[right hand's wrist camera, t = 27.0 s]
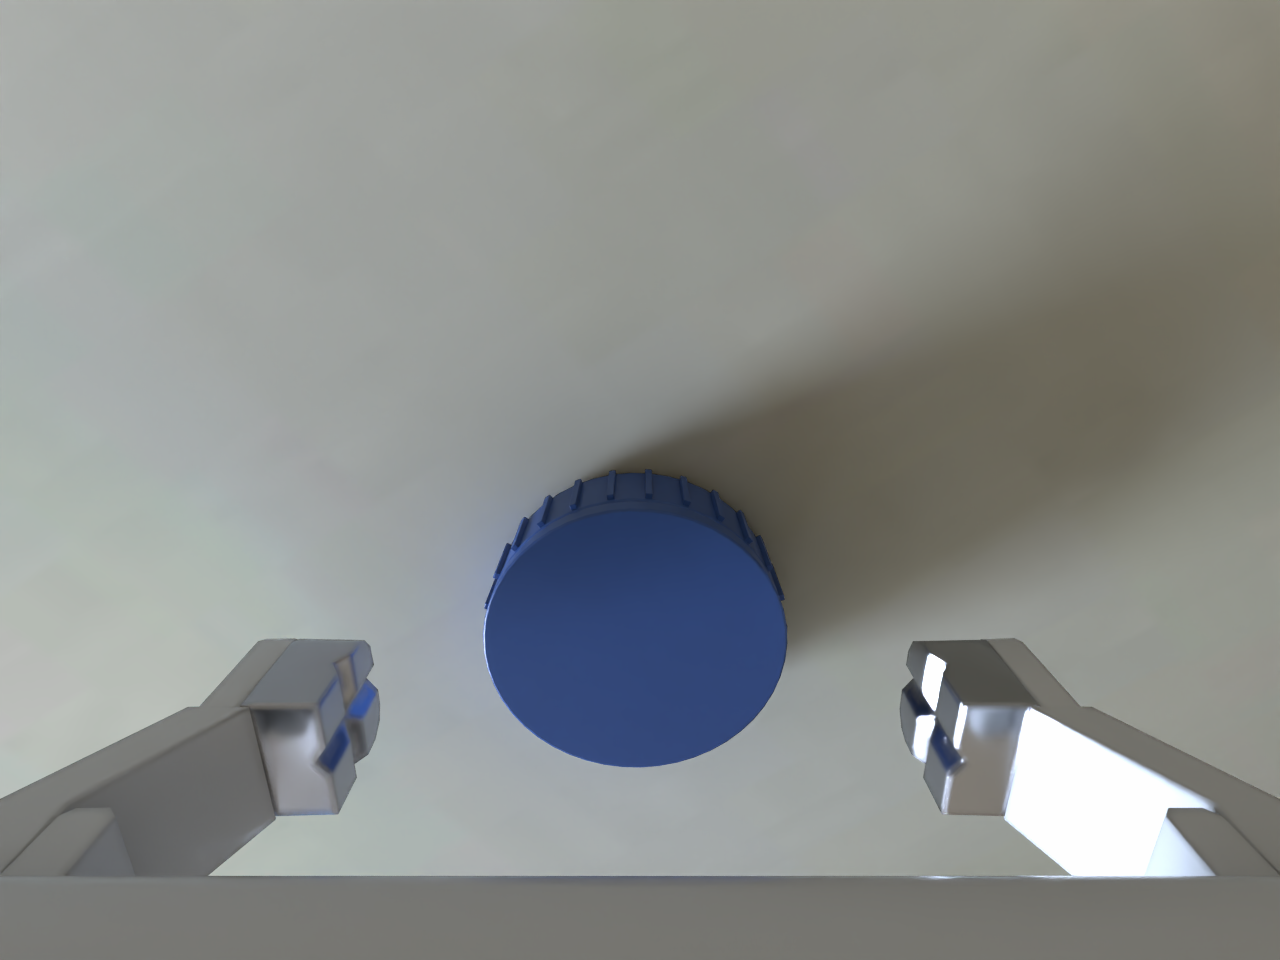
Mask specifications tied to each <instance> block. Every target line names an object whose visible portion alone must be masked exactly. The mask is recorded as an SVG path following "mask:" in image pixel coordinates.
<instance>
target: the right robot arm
mask: <svg viewBox="0 0 1280 960" xmlns="http://www.w3.org/2000/svg"><path fill="white" fill-rule="evenodd" d="M373 665H374V663H373V658H372V653H371V648H370V645H369V644H368V643H367V642H366V641H365V640H331V639H265V640H261V641H258V642H257V643H256V644H255V645H254V646H253V648H252V649H251V650H250V651H249V652H248V653H247V654H246V655H245V656H244V658H243V659H242V660H241V661H240V662H239V663H238V664H237V665H236V666H235V668H234V669H233V670H232V671H231V672H230V673H229V674H228V675H227V676H226V678H225V679H224V680H223V681H222V682H221V683H220V684H219V685H218V686H217V688H216V689H215V690H214V691H213V692H212V693H211V694H210V695H209V696H208V698H207V699H206V700H205V701H204V702H203V703H202V704H201V705H200V706H199V707H187V708H185V709H183V710H181V711H179V712H177V713H175V714H173V715H171V716H169V717H167V718H164V719H162V720H160V721H158V722H156V723H154V724H152V725H150V726H148V727H146V728H144V729H142V730H140V731H138V732H136V733H134V734H132V735H130V736H128V737H126V738H124V739H122V740H120V741H118V742H116V743H113V744H111V745H109V746H107V747H105V748H103V749H101V750H99V751H97V752H95V753H93V754H91V755H89V756H87V757H85V758H83V759H81V760H79V761H77V762H75V763H73V764H71V765H69V766H67V767H65V768H62V769H60V770H58V771H56V772H54V773H52V774H50V775H48V776H46V777H44V778H42V779H40V780H38V781H36V782H34V783H32V784H30V785H28V786H26V787H24V788H22V789H20V790H18V791H16V792H14V793H11V794H9V795H7V796H5V797H3V798H1V799H0V960H1280V799H1278V798H1276V797H1274V796H1272V795H1270V794H1268V793H1266V792H1264V791H1262V790H1260V789H1258V788H1256V787H1254V786H1252V785H1250V784H1248V783H1246V782H1244V781H1242V780H1240V779H1237V778H1235V777H1233V776H1231V775H1229V774H1227V773H1225V772H1223V771H1221V770H1219V769H1217V768H1215V767H1213V766H1211V765H1209V764H1207V763H1205V762H1203V761H1201V760H1199V759H1197V758H1195V757H1193V756H1191V755H1189V754H1187V753H1185V752H1183V751H1181V750H1179V749H1176V748H1174V747H1172V746H1170V745H1168V744H1166V743H1164V742H1162V741H1160V740H1158V739H1156V738H1154V737H1152V736H1150V735H1148V734H1146V733H1144V732H1142V731H1140V730H1138V729H1136V728H1134V727H1132V726H1130V725H1128V724H1126V723H1124V722H1122V721H1120V720H1117V719H1115V718H1113V717H1111V716H1109V715H1107V714H1105V713H1103V712H1101V711H1099V710H1097V709H1095V708H1093V707H1081V706H1080V705H1079V704H1078V703H1077V702H1076V701H1075V700H1074V699H1073V698H1072V696H1071V695H1070V694H1069V693H1068V692H1067V691H1066V690H1065V689H1064V688H1063V686H1062V685H1061V684H1060V683H1059V682H1058V681H1057V680H1056V679H1055V678H1054V676H1053V675H1052V674H1051V673H1050V672H1049V671H1048V670H1047V669H1046V668H1045V666H1044V665H1043V664H1042V663H1041V662H1040V661H1039V660H1038V659H1037V658H1036V656H1035V655H1034V654H1033V653H1032V652H1031V651H1030V650H1029V649H1028V647H1027V646H1026V645H1025V644H1024V643H1023V642H1021V641H1019V640H1017V639H1015V638H1006V639H981V640H949V641H913V642H912V644H911V646H910V649H909V651H908V657H907V663H906V665H907V667H908V669H909V671H910V672H911V674H912V676H913V679H912V680H911V681H910V682H909V683H908V684H907V685H906V686H905V687H904V688H903V689H902V694H901V703H900V717H901V728H902V731H903V735H904V738H905V741H906V744H907V746H908V748H909V750H910V752H911V754H912V755H913V756H915V757H916V758H918V759H919V760H921V761H922V762H923V763H925V770H924V776H923V778H924V780H925V782H926V784H927V786H928V788H929V790H930V792H931V794H932V796H933V798H934V800H935V802H936V804H937V805H938V807H939V809H940V811H941V813H942V814H952V815H987V816H1005V817H1004V819H1005V820H1006V821H1007V822H1008V823H1010V824H1011V825H1012V826H1013V827H1014V828H1016V829H1017V830H1018V831H1019V832H1020V833H1022V834H1023V835H1024V836H1025V837H1027V838H1028V839H1029V840H1030V841H1031V842H1033V843H1034V844H1035V845H1036V846H1037V847H1039V848H1040V849H1041V850H1042V851H1043V852H1045V853H1046V854H1047V855H1048V856H1049V857H1051V858H1052V859H1053V860H1054V861H1055V862H1057V863H1058V864H1059V865H1060V866H1061V867H1063V868H1064V869H1065V870H1066V871H1067V872H1069V873H1070V874H1071V875H1072V876H208V875H209V874H210V873H212V872H213V871H214V870H215V869H216V868H218V867H219V866H220V865H221V864H222V863H224V862H225V861H226V860H227V859H228V858H230V857H231V856H232V855H233V854H234V853H236V852H237V851H238V850H239V849H241V848H242V847H243V846H244V845H245V844H247V843H248V842H249V841H250V840H251V839H253V838H254V837H255V836H256V835H257V834H259V833H260V832H261V831H262V830H263V829H265V828H266V827H267V826H268V825H269V824H271V823H272V822H273V821H274V820H275V819H276V817H275V816H292V815H327V814H338V813H339V812H340V810H341V808H342V806H343V804H344V802H345V800H346V798H347V796H348V794H349V792H350V790H351V788H352V786H353V784H354V782H355V780H356V778H357V776H356V770H355V763H357V762H358V761H359V760H361V759H362V758H364V757H365V756H367V755H368V754H369V752H370V750H371V748H372V746H373V743H374V741H375V739H376V735H377V730H378V725H379V721H380V701H379V694H378V689H377V688H376V687H375V686H374V685H373V684H372V683H371V682H370V681H369V680H368V679H367V676H368V674H369V672H370V671H371V669H372V667H373Z"/></svg>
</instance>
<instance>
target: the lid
mask: <svg viewBox="0 0 1280 960" xmlns="http://www.w3.org/2000/svg"><path fill="white" fill-rule="evenodd" d="M493 578H495V580H494V583H493V585H492V588H491V590H490V593H489V595H488V598H487V600H486V603H485V609H487V612H486V616H485V623H484V633H483V639H484V653H485V658H486V662H487V667H488V670H489V673H490V676H491V678H492V681H493V684H494V686H495V688H496V690H497V691H498V693H499V695H500V697H501V699H502V700H503V702H504V703H505V704H506V706H507V707H508V709H509V710H510V711H511V713H512V714H513V715H514V716H515V717H516V718H517V719H518V720H519V721H520V722H521V723H522V724H523V725H524V726H525V727H526V728H527V729H528V730H530V731H531V732H532V733H533V734H535V735H536V736H537V737H539V738H540V739H542V740H543V741H545V742H546V743H548V744H550V745H551V746H553V747H555V748H557V749H559V750H561V751H563V752H565V753H567V754H570V755H572V756H575V757H578V758H581V759H584V760H587V761H591V762H595V763H600V764H604V765H611V766H619V767H651V766H661V765H666V764H672V763H677V762H680V761H684V760H687V759H690V758H694V757H696V756H699V755H701V754H703V753H706V752H708V751H711V750H712V749H714V748H716V747H718V746H720V745H721V744H723V743H725V742H727V741H728V740H729V739H731V738H732V737H734V736H735V735H736V734H738V733H739V732H741V731H742V730H743V729H744V728H745V727H746V726H747V725H748V724H749V723H750V722H751V721H752V720H753V719H754V718H755V717H756V716H757V715H758V713H759V712H760V711H761V710H762V709H763V707H764V706H765V705H766V703H767V701H768V700H769V698H770V697H771V695H772V693H773V692H774V690H775V687H776V685H777V683H778V681H779V678H780V676H781V673H782V669H783V665H784V662H785V657H786V649H787V624H786V619H785V614H784V609H783V606H782V603H781V601H782V600H785V598H784V594H783V592H782V589H781V586H780V584H779V581H778V578H777V576H776V573H775V570H774V567H773V565H772V564H771V561H770V558H769V555H768V553H767V550H766V547H765V545H764V542H763V539H762V538H761V536H760V535H759V536H757V537H755V535H754V533H753V532H752V531H751V529H750V528H749V526H748V524H747V521H746V519H745V516H744V513H743V512H742V511H741V510H739V511H738V512H737V513H736V512H735V511H734V510H733V509H732V508H731V507H730V506H728V505H727V504H726V503H725V502H723V501H722V500H721V499H720V498H719V494H718V492H717V491H715V490H712V492H711V493H710V492H708V491H706V490H704V489H703V488H700V487H698V486H696V485H693V484H691V483H688V482H687V478H686V477H684V476H680V479H676V478H672V477H668V476H662V475H656V474H652V470H649V469H645V473H625V474H616V471H615V470H613V471H609V475H608V476H604V477H599V478H595V479H591V480H589V481H586V482H582V480H581V479H579V480H576V481H575V484H574V486H573V487H571V488H569V489H567V490H565V491H563V492H561V493H559V494H558V495H556V496H555V497H554V498H552V497H551V496H550V495H549V496H547V497H546V498H545V500H544V503H543V506H542V507H540V508H539V509H538V510H537V511H536V512H535V513H534V514H533V515H532V516H531V517H530V518H529V519H527V518H526V517H524V518H523V519H522V520H521V523H520V525H519V528H518V531H517V533H516V536H515V539H514V541H513V542H512V545H511V544H508V543H507V544H506V546H505V549H504V551H503V554H502V556H501V559H500V561H499V564H498V566H497V569H496V571H495V574H494V576H493Z"/></svg>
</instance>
